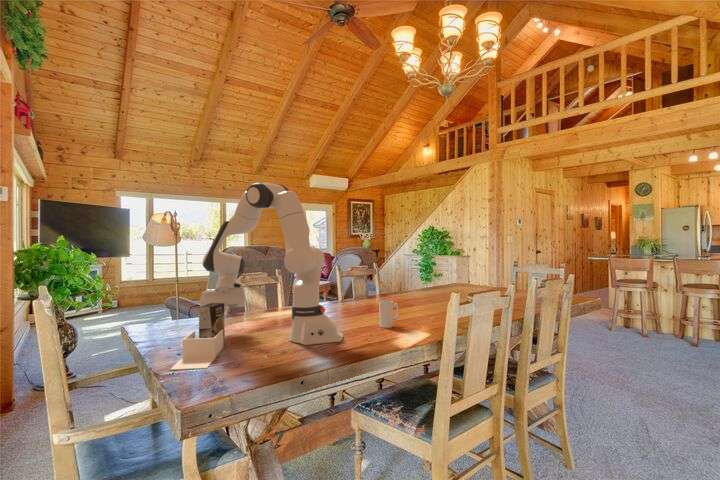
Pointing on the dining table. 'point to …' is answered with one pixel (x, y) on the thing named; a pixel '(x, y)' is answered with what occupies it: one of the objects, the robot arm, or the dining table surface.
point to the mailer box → (199, 352)
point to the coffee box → (211, 320)
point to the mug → (387, 313)
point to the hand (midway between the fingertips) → (220, 314)
